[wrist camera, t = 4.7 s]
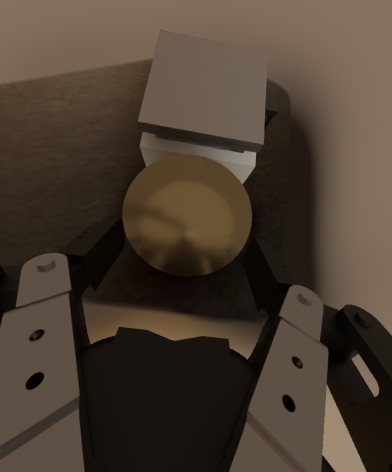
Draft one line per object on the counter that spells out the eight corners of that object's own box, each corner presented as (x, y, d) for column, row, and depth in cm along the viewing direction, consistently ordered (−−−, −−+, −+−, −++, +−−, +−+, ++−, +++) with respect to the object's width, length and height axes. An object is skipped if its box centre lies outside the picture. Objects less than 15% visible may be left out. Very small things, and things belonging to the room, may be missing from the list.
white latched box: (151, 181, 17) (139, 146, 12) (165, 112, 19) (160, 58, 14) (236, 195, 18) (258, 167, 13) (242, 126, 20) (262, 79, 15)
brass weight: (155, 271, 15) (108, 268, 6) (163, 220, 17) (135, 146, 7) (208, 277, 16) (250, 283, 6) (212, 227, 17) (253, 163, 7)
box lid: (150, 163, 15) (137, 121, 11) (165, 90, 17) (160, 29, 12) (253, 181, 15) (281, 147, 11) (257, 108, 17) (282, 56, 13)
